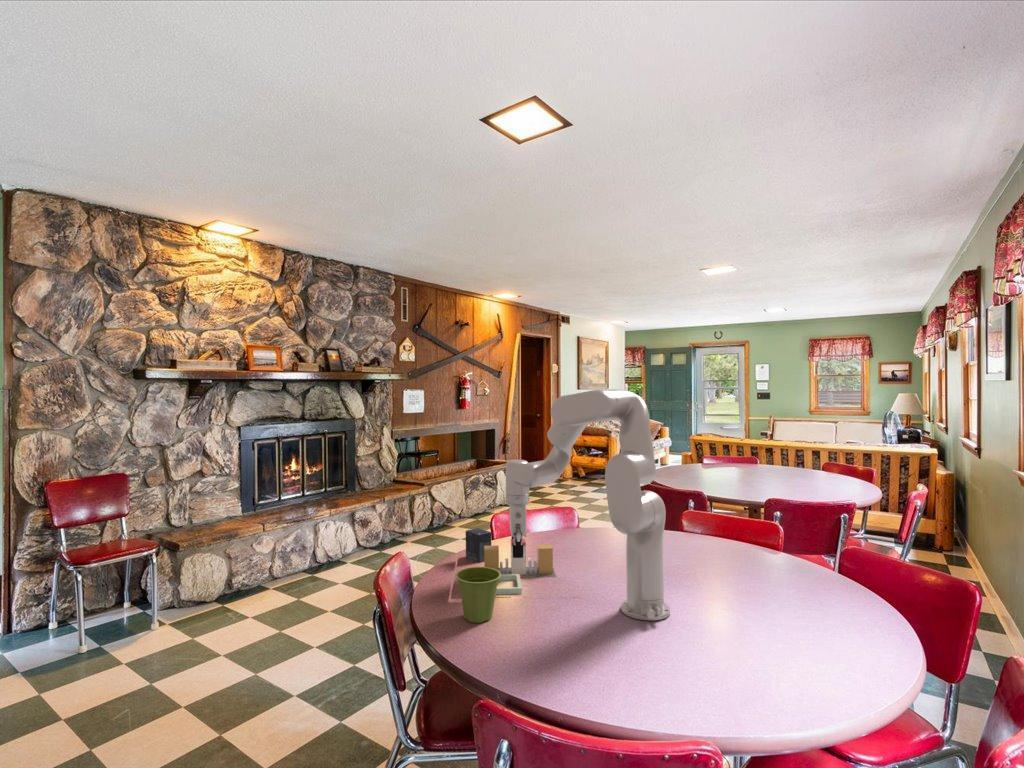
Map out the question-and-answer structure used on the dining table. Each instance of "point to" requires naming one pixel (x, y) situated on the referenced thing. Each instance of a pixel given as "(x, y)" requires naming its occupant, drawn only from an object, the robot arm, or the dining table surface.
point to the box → (477, 544)
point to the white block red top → (518, 560)
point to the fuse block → (540, 567)
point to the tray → (510, 589)
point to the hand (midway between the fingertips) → (517, 552)
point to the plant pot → (478, 592)
